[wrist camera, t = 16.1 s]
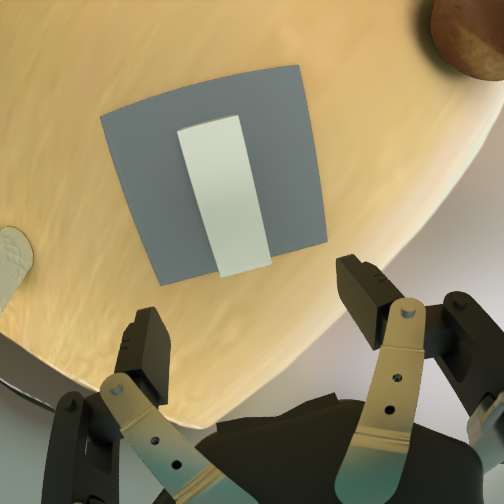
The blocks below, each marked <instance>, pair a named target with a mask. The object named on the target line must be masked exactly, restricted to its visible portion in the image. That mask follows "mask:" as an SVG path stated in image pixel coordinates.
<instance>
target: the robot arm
mask: <svg viewBox="0 0 504 504" xmlns="http://www.w3.org/2000/svg"><path fill="white" fill-rule="evenodd" d="M336 273H337V288H338V293H339V296H340V299H341V301H342V302H343V304H344V305H345V307H346V308H347V310H348V311H349V313H350V315H351V316H352V318H353V319H354V321H355V322H356V324H357V325H358V327H359V329H360V330H361V332H362V333H363V335H364V336H365V338H366V340H367V341H368V343H369V344H370V346H371V348H372V349H373V350H377V349H379V348H380V352H379V356H378V360H377V364H376V367H375V371H374V375H373V378H372V382H371V385H370V389H369V392H368V396H367V399H366V402H364V401H359V400H352V399H341V400H338V399H337V397H336V394H335V393H331V394H328V395H325V396H322V397H319V398H316V399H313V400H309V401H306V402H304V403H302V404H301V405H299V406H297V407H295V408H293V409H291V410H290V411H288V412H286V413H284V414H282V415H279V416H276V417H245V418H239V419H235V420H230V421H224V422H219V423H216V425H217V432H214V433H212V434H210V435H209V436H207V437H206V438H204V439H203V440H201V441H200V442H199V443H198V444H197V445H196V446H195V447H193V446H192V445H191V444H190V443H189V442H188V441H187V440H186V439H185V438H184V437H183V436H182V435H181V434H180V433H179V432H178V431H177V430H176V429H175V428H174V427H173V426H172V425H171V424H170V423H169V421H168V420H167V419H166V418H165V417H164V416H163V415H162V414H161V413H160V412H159V411H158V407H159V405H166V404H168V385H169V366H170V350H171V341H170V337H169V334H168V331H167V329H166V327H165V326H164V324H163V322H162V320H161V318H160V316H159V314H158V312H157V310H156V308H155V307H149V308H144V309H140V310H137V312H136V317H135V321H134V323H130V324H129V325H128V327H127V328H126V330H125V331H124V333H123V337H122V343H121V345H120V350H119V353H118V357H117V362H116V366H115V371H114V374H112V375H110V376H109V377H108V378H106V379H105V380H104V382H103V383H102V385H101V387H100V392H98V393H95V394H93V395H91V396H88V397H86V398H84V397H83V396H82V395H81V394H80V393H79V392H77V391H72V392H68V393H66V394H65V395H64V396H62V397H61V399H60V400H59V402H58V404H57V407H56V412H55V416H54V421H53V425H52V430H51V436H50V440H49V446H48V452H47V458H46V465H45V472H44V480H43V489H42V499H41V504H119V446H120V439H123V438H125V439H126V440H127V442H128V443H129V444H130V446H131V447H132V448H133V450H134V451H135V452H136V454H137V455H138V456H139V458H140V459H141V460H142V462H143V463H144V464H145V465H146V467H147V468H148V469H149V470H150V471H151V473H152V474H153V475H154V476H155V478H156V479H157V480H158V481H159V482H160V484H161V485H162V486H163V487H164V489H163V491H162V492H161V493H160V494H159V496H158V497H157V498H156V500H155V501H154V502H153V504H484V501H483V475H485V474H486V473H487V472H489V471H490V470H492V469H493V468H495V467H496V466H497V465H499V464H504V332H503V331H502V330H501V329H500V327H499V326H498V325H497V324H496V323H495V322H494V321H493V320H492V318H491V317H490V316H489V315H488V314H487V313H486V312H485V311H484V310H483V309H482V307H481V306H480V305H479V304H478V303H477V302H476V301H475V300H474V299H473V298H472V297H471V296H470V295H468V294H466V293H464V292H460V291H454V292H450V293H448V294H447V295H446V296H445V298H444V301H443V304H439V305H432V306H424V305H423V303H422V302H420V301H419V300H417V299H414V298H405V297H404V296H403V294H402V293H401V292H400V291H399V290H398V289H397V288H396V287H395V286H394V285H393V284H392V283H391V281H390V280H388V279H387V277H386V276H385V275H384V274H383V273H382V272H381V271H380V270H379V269H378V268H377V266H375V265H373V264H371V263H369V262H363V263H361V262H360V261H359V259H358V258H357V257H356V256H355V255H354V254H350V255H347V256H343V257H340V258H337V259H336ZM428 358H434V359H435V361H436V362H437V364H438V365H439V367H440V368H441V370H442V372H443V373H444V375H445V376H446V378H447V380H448V381H449V383H450V384H451V386H452V388H453V389H454V391H455V392H456V394H457V396H458V398H459V399H460V401H461V403H462V404H463V406H464V408H465V410H466V411H467V413H468V415H469V417H470V418H469V420H468V423H467V433H468V438H469V445H468V444H467V443H465V442H463V441H460V440H457V439H454V438H452V437H449V436H446V435H444V434H441V433H438V432H436V431H433V430H431V429H428V428H426V427H423V426H421V425H419V424H416V423H414V417H415V412H416V407H417V402H418V396H419V390H420V384H421V377H422V370H423V362H424V359H428ZM86 440H87V450H86V454H85V449H86Z"/></svg>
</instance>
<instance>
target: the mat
mask: <svg viewBox="0 0 504 504" xmlns="http://www.w3.org/2000/svg"><path fill="white" fill-rule="evenodd" d="M229 115H238V116H239V121H240V125H241V129H242V133H243V138H244V142H245V146H246V150H247V155H248V159H249V163H250V168H251V172H252V176H253V181H254V185H255V189H256V194H257V198H258V203H259V207H260V212H261V216H262V220H263V225H264V229H265V234H266V239H267V243H268V248H269V252H270V257H273V256H277V255H281V254H284V253H288V252H292V251H296V250H299V249H303V248H307V247H311V246H314V245H318V244H322V243H325V242H327V233H326V224H325V215H324V207H323V199H322V192H321V184H320V177H319V171H318V164H317V158H316V151H315V145H314V139H313V133H312V128H311V122H310V117H309V111H308V106H307V101H306V96H305V91H304V86H303V82H302V77H301V72H300V68H299V65H292V66H284V67H277V68H270V69H264V70H258V71H252V72H247V73H242V74H237V75H232V76H227V77H222V78H218V79H214V80H210V81H206V82H202V83H198V84H194V85H190V86H187V87H183V88H180V89H176V90H173V91H169V92H166V93H163V94H160V95H157V96H154V97H151V98H148V99H145V100H142V101H139V102H136V103H133V104H131V105H128V106H125V107H123V108H120V109H118V110H115V111H113V112H110V113H108V114H105V115H103V116H100V119H101V122H102V126H103V129H104V133H105V136H106V140H107V143H108V146H109V150H110V153H111V156H112V159H113V162H114V165H115V169H116V172H117V175H118V178H119V181H120V184H121V186H122V189H123V192H124V195H125V198H126V201H127V203H128V206H129V209H130V212H131V214H132V217H133V220H134V222H135V225H136V227H137V230H138V233H139V235H140V238H141V240H142V243H143V245H144V248H145V250H146V253H147V255H148V257H149V260H150V262H151V265H152V267H153V269H154V272H155V274H156V276H157V279H158V281H159V283H160V285H161V286H163V285H166V284H170V283H174V282H178V281H182V280H186V279H190V278H194V277H197V276H201V275H205V274H209V273H213V272H217V271H219V270H218V267H217V264H216V261H215V257H214V254H213V251H212V248H211V245H210V242H209V239H208V235H207V232H206V229H205V226H204V223H203V219H202V216H201V213H200V210H199V206H198V203H197V200H196V196H195V193H194V190H193V186H192V183H191V179H190V176H189V173H188V169H187V166H186V162H185V159H184V155H183V152H182V148H181V145H180V141H179V137H178V134H177V131H178V130H180V129H181V128H184V127H187V126H190V125H194V124H198V123H201V122H205V121H209V120H212V119H216V118H220V117H224V116H229Z"/></svg>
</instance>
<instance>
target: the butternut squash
mask: <svg viewBox="0 0 504 504" xmlns="http://www.w3.org/2000/svg"><path fill="white" fill-rule="evenodd" d="M430 26H431V35H432V38H433V41H434V44H435V47H436V49H437V51H438V53H439V55H440V56H441V57H442V58H443V59H444V60H445V61H446V62H447V63H450V64H452V65H453V66H454V67H455V68H456V69H458V70H459V71H460V72H462V73H464V74H466V75H468V76H470V77H473V78H476V79H480V80H486V81H501V80H504V0H435V1H434V5H433V10H432V15H431V22H430Z"/></svg>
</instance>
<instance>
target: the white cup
mask: <svg viewBox="0 0 504 504" xmlns="http://www.w3.org/2000/svg"><path fill="white" fill-rule="evenodd" d="M32 265H33V252H32V248H31V245H30V243H29V241H28V240H27V238H26V237H25V235H24V234H23V233H22V232H20V231H19V230H18V229H16V228H13V227H8V226H7V227H5V228H3V229H1V230H0V316H1V314H2V312H3V311H4V309H5V308H6V306H7V304H8V303H9V301H10V300H11V298H12V297H13V295H14V294H15V292H16V291H17V289H18V287H19V286H20V284H21V283H22V281H23V278H24V277H25V275H26V274H27V272H28V271H29V269H30V268H31V266H32Z"/></svg>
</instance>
